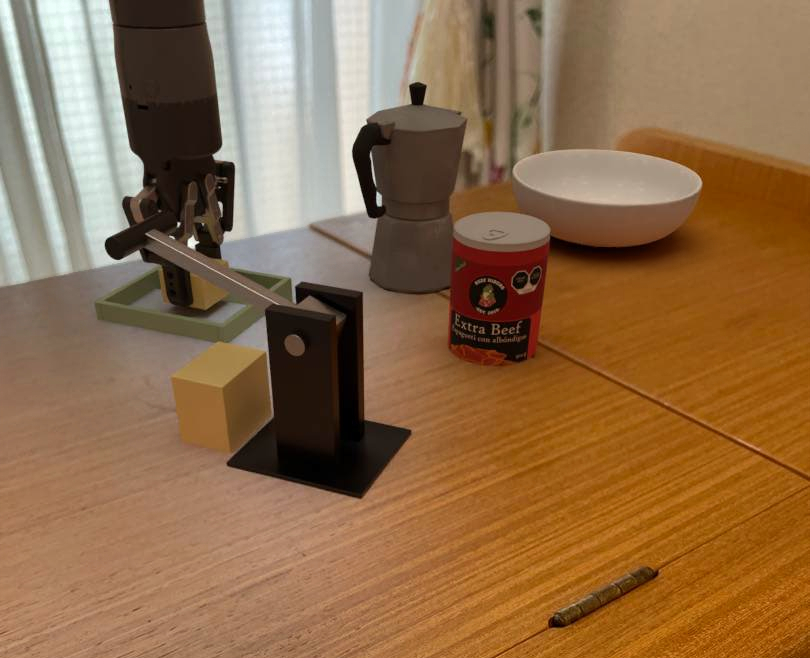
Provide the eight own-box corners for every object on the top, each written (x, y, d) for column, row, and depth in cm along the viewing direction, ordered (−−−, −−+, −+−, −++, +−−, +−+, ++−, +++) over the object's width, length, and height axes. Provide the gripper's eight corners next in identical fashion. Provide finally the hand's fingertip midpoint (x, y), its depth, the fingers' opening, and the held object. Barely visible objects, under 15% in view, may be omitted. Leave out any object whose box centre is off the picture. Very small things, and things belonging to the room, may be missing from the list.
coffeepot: (416, 250, 96) (420, 66, 85) (487, 270, 91) (502, 79, 80) (321, 290, 86) (312, 89, 75) (395, 316, 82) (397, 105, 71)
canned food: (436, 367, 73) (442, 236, 66) (460, 330, 79) (467, 206, 73) (526, 381, 71) (541, 248, 65) (543, 342, 78) (558, 216, 71)
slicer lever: (102, 260, 55) (105, 226, 53) (157, 232, 59) (161, 199, 58) (309, 372, 54) (319, 340, 52) (349, 334, 58) (359, 304, 57)
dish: (99, 328, 78) (93, 301, 77) (175, 281, 87) (172, 257, 86) (227, 354, 75) (223, 326, 73) (293, 303, 84) (291, 277, 82)
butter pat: (163, 302, 79) (157, 269, 77) (190, 284, 82) (186, 253, 80) (205, 310, 78) (201, 277, 76) (232, 292, 81) (228, 260, 79)
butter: (182, 452, 62) (170, 376, 58) (226, 413, 66) (217, 340, 63) (231, 464, 61) (222, 387, 57) (273, 424, 65) (266, 350, 62)
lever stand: (228, 476, 60) (206, 313, 52) (289, 416, 66) (278, 264, 59) (361, 510, 57) (358, 342, 50) (411, 443, 63) (415, 287, 56)
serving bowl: (472, 239, 99) (476, 175, 95) (562, 197, 112) (569, 139, 108) (641, 283, 89) (654, 214, 85) (717, 231, 102) (732, 170, 98)
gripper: (179, 69, 76) (204, 263, 86) (71, 100, 65) (115, 317, 75) (254, 76, 73) (271, 274, 84) (156, 110, 63) (189, 331, 73)
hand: (197, 293), depth 80 cm, fingers closed on butter pat, 4 cm apart
